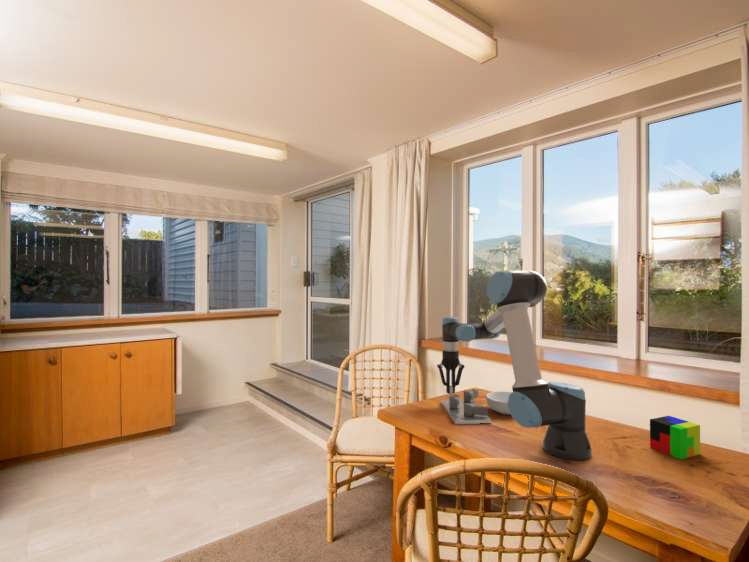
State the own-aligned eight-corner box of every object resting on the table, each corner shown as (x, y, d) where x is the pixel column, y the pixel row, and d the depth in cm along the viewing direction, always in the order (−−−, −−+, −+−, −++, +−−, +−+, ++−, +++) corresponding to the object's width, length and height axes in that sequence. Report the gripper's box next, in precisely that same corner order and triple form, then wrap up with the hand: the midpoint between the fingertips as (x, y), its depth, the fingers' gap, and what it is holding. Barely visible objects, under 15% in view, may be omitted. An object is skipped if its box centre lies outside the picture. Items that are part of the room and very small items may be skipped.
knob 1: (458, 409, 175) (458, 399, 175) (448, 408, 176) (448, 398, 176) (461, 402, 184) (461, 393, 184) (451, 402, 185) (451, 392, 185)
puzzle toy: (668, 443, 141) (668, 415, 141) (700, 454, 132) (699, 425, 132) (650, 447, 138) (649, 419, 138) (681, 459, 128) (680, 429, 128)
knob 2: (470, 403, 184) (470, 393, 184) (461, 401, 187) (461, 391, 187) (480, 398, 191) (480, 389, 191) (472, 396, 194) (471, 387, 194)
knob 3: (463, 416, 166) (463, 405, 166) (463, 412, 170) (463, 402, 170) (487, 417, 164) (487, 407, 164) (487, 414, 168) (487, 404, 168)
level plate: (491, 423, 162) (490, 418, 162) (455, 424, 161) (455, 419, 161) (471, 402, 190) (471, 398, 190) (441, 403, 189) (441, 398, 189)
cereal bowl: (478, 409, 180) (478, 393, 180) (506, 404, 187) (505, 389, 187) (505, 420, 165) (505, 404, 165) (534, 414, 172) (533, 398, 172)
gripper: (462, 348, 187) (462, 397, 187) (435, 348, 187) (435, 397, 187) (466, 351, 180) (466, 402, 180) (438, 351, 179) (438, 402, 179)
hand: (450, 400), depth 183 cm, fingers closed
